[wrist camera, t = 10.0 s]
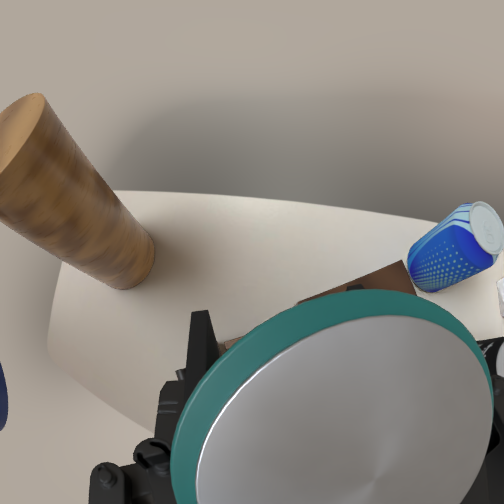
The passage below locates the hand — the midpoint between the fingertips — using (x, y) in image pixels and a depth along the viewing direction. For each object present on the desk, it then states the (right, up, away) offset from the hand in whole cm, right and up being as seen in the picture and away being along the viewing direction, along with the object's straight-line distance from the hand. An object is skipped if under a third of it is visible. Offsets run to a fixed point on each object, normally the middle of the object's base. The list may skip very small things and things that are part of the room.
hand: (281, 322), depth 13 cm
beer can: (+26, +1, +26) cm, 36 cm away
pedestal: (-20, +3, +27) cm, 34 cm away
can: (+1, -6, +6) cm, 9 cm away
